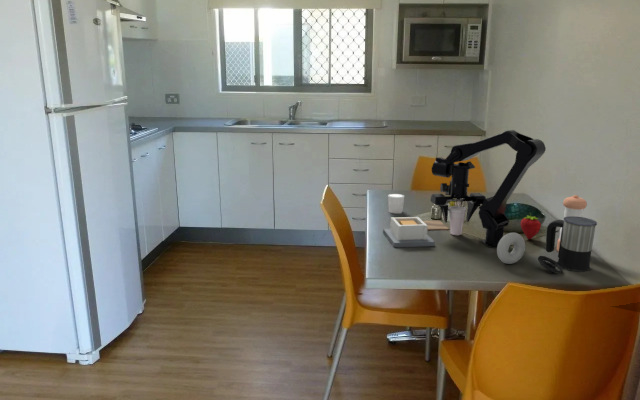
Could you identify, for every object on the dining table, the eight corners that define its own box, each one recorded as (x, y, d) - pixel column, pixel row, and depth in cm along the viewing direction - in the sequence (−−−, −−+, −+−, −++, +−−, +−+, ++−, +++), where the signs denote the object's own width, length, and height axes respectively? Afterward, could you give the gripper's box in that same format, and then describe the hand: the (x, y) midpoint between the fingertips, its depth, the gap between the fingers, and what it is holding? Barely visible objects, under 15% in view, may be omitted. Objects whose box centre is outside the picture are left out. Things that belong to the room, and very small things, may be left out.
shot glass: (385, 213, 219) (386, 196, 217) (388, 208, 225) (389, 192, 224) (402, 214, 217) (403, 197, 215) (404, 210, 223) (405, 194, 222)
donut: (518, 259, 167) (521, 229, 165) (526, 263, 164) (529, 232, 162) (492, 263, 163) (495, 232, 161) (500, 267, 160) (503, 236, 158)
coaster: (448, 229, 197) (448, 228, 197) (420, 230, 196) (420, 229, 196) (439, 221, 208) (439, 220, 208) (411, 221, 207) (411, 220, 206)
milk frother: (591, 264, 164) (598, 218, 160) (587, 281, 150) (594, 232, 147) (542, 256, 171) (548, 212, 167) (534, 271, 158) (539, 224, 154)
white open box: (434, 245, 179) (435, 227, 177) (394, 247, 177) (395, 228, 176) (420, 231, 194) (421, 214, 193) (382, 232, 193) (383, 215, 191)
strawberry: (530, 243, 183) (533, 215, 180) (514, 237, 189) (517, 210, 187) (543, 241, 185) (546, 214, 182) (527, 235, 192) (530, 208, 189)
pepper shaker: (566, 255, 171) (574, 198, 166) (551, 248, 178) (558, 193, 173) (585, 253, 173) (593, 197, 168) (569, 246, 180) (577, 192, 175)
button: (417, 230, 183) (417, 224, 182) (403, 230, 182) (403, 224, 182) (413, 225, 188) (413, 220, 187) (399, 226, 187) (399, 220, 187)
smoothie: (467, 236, 189) (470, 198, 186) (450, 236, 188) (452, 198, 185) (461, 230, 195) (463, 193, 192) (444, 231, 195) (446, 194, 191)
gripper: (475, 174, 196) (472, 215, 200) (427, 175, 194) (424, 216, 198) (488, 181, 185) (484, 223, 189) (437, 182, 183) (434, 225, 187)
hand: (456, 222), depth 191 cm, fingers closed on smoothie, 8 cm apart
